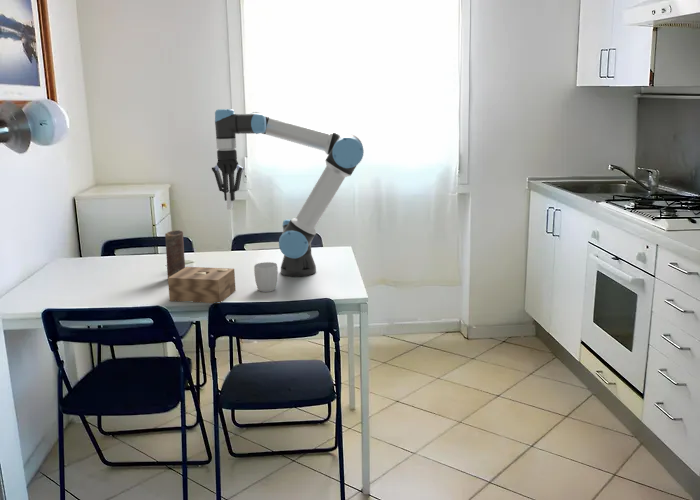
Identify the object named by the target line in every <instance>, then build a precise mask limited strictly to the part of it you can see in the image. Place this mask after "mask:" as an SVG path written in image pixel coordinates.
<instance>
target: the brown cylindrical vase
mask: <svg viewBox="0 0 700 500" xmlns="http://www.w3.org/2000/svg"><path fill="white" fill-rule="evenodd" d="M165 251H166V253H165V254H166V269H167V271H166V272H167V273H166V274H167V278H168V277H170V276H172V275H174V274H175V273H177V272H179V271H180V270H182V269H184V268H185V267H186V261H185V260H186V259H185V244H184V231H182V230H178V229H176V230H170V231H167V232H166V233H165Z"/></svg>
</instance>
